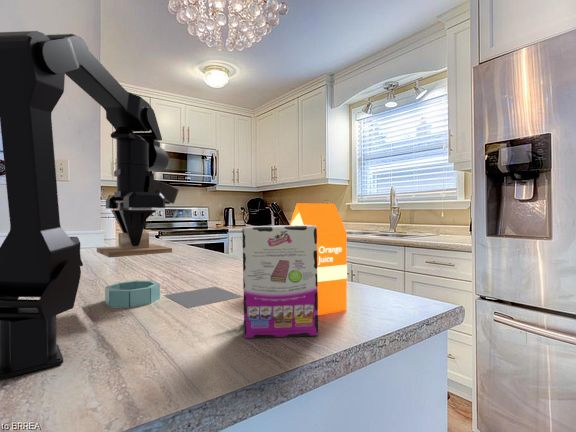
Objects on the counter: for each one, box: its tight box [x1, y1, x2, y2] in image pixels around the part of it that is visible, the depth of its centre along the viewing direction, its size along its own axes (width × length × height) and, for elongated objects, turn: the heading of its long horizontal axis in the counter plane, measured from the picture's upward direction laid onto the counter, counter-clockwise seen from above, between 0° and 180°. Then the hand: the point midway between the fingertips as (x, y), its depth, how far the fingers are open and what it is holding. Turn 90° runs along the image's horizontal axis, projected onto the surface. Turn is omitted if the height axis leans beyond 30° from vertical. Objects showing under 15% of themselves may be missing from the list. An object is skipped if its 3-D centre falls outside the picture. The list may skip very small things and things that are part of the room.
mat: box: [163, 286, 244, 309], centre depth 68 cm, size 12×12×1 cm
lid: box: [96, 231, 173, 258], centre depth 65 cm, size 11×11×4 cm
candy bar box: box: [242, 224, 319, 339], centre depth 51 cm, size 11×5×16 cm, turn 94°
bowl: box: [104, 279, 161, 309], centre depth 65 cm, size 9×9×4 cm
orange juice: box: [289, 202, 348, 316], centre depth 63 cm, size 8×9×20 cm
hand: (133, 245), depth 65 cm, fingers closed on lid, 2 cm apart
